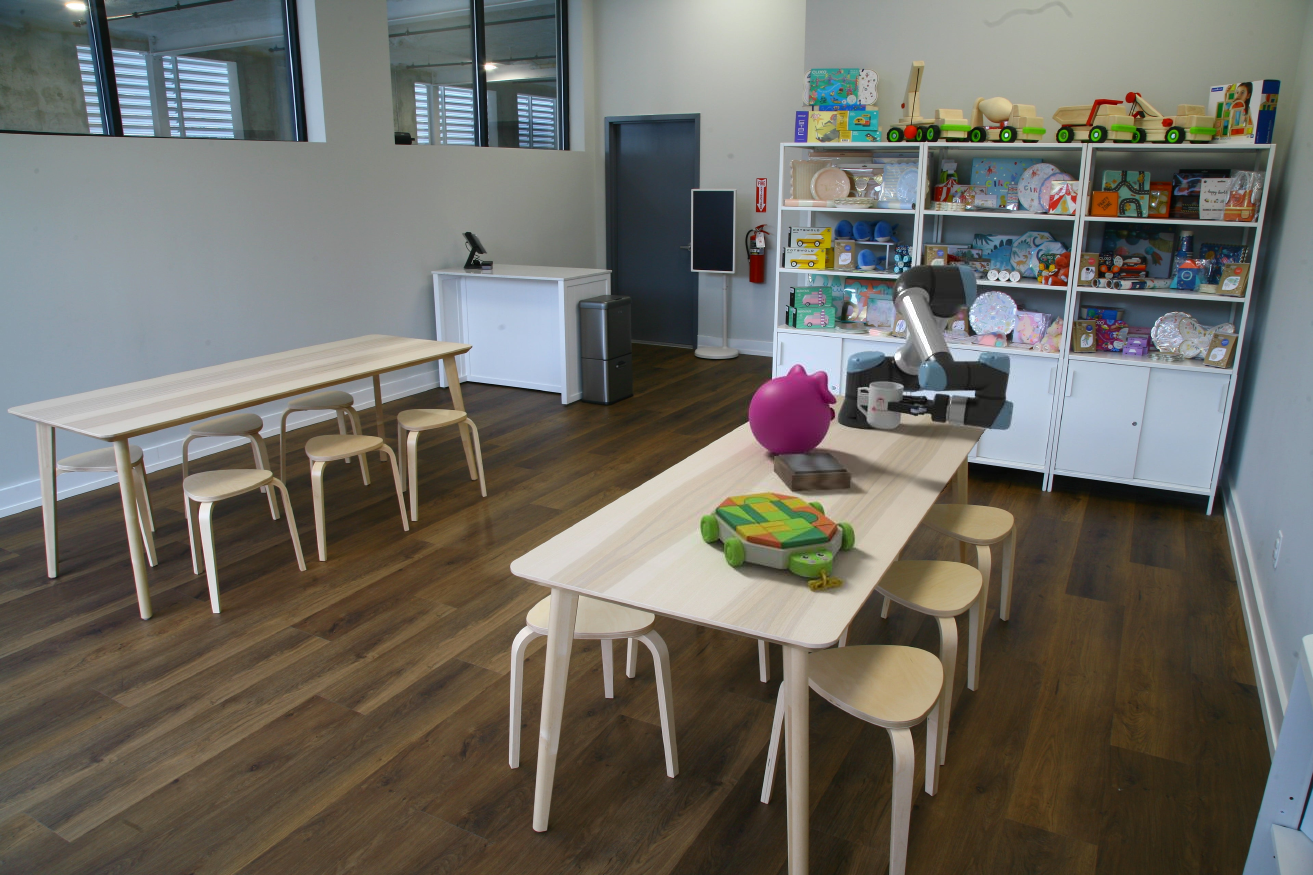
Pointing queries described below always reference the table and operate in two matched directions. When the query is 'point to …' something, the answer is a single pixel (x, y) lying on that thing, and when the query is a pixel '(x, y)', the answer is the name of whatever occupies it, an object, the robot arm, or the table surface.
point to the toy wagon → (779, 535)
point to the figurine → (792, 412)
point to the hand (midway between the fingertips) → (859, 398)
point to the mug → (882, 404)
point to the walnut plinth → (811, 472)
